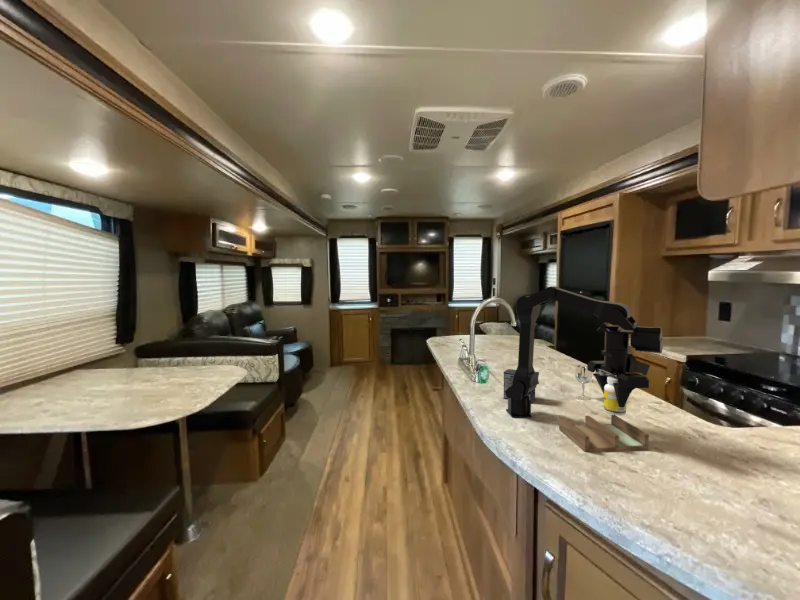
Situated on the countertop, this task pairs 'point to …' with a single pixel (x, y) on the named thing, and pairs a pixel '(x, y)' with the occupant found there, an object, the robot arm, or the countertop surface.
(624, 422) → the slot rack
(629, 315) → the robot arm
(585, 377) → the wineglass
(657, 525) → the countertop surface
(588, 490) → the countertop surface
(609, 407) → the supplement bottle
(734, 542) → the countertop surface
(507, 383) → the small box
